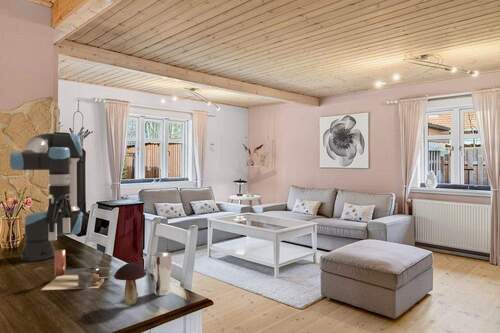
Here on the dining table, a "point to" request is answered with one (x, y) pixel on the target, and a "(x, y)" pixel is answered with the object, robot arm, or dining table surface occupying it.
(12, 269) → the dining table surface
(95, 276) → the walnut
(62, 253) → the lever
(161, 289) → the beer glass
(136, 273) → the decorative mushroom
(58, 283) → the tapered cream board
